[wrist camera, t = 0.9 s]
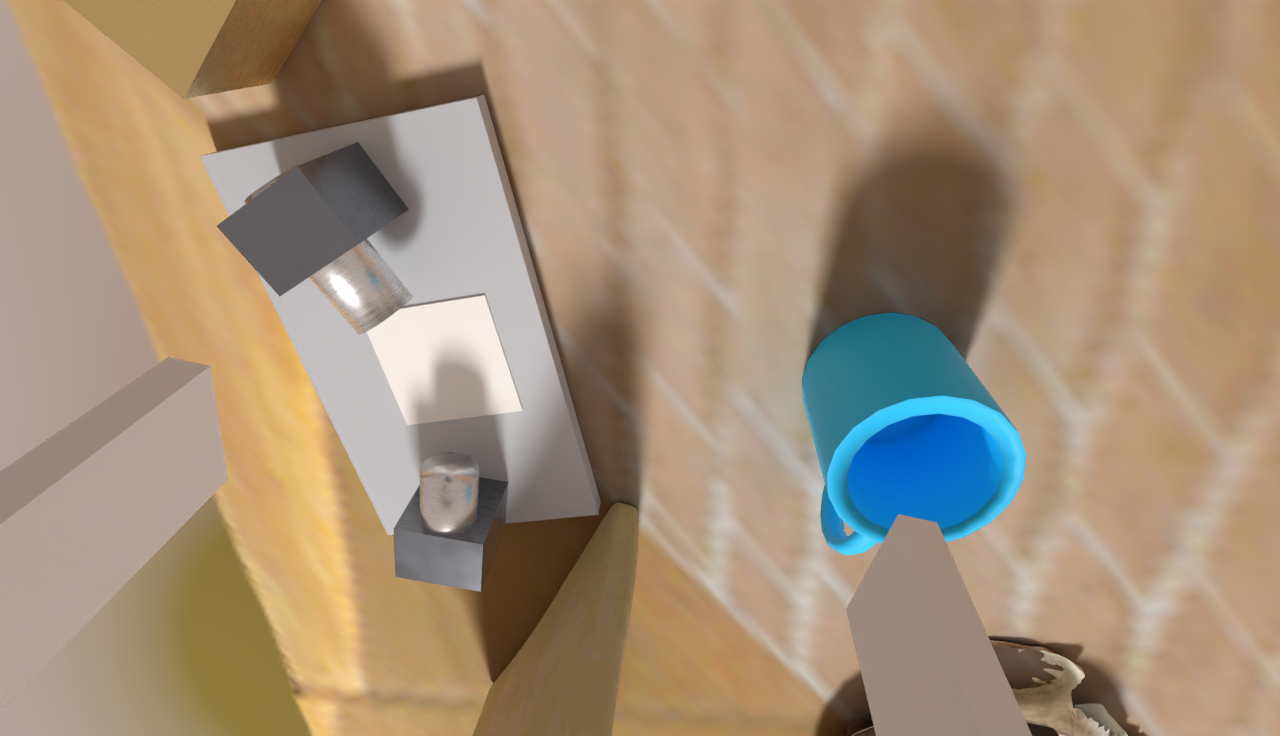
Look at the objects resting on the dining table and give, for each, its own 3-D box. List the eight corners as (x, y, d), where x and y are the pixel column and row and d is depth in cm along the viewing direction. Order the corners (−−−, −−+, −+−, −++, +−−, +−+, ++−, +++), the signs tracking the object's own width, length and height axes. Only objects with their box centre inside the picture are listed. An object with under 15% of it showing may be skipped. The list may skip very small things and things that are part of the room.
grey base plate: (216, 151, 32) (198, 156, 31) (484, 94, 30) (475, 98, 28) (395, 522, 43) (387, 536, 42) (600, 501, 41) (598, 515, 40)
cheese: (553, 476, 40) (481, 703, 27) (701, 521, 41) (702, 762, 28) (486, 686, 51) (411, 921, 38) (604, 718, 52) (572, 960, 39)
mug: (840, 292, 33) (879, 371, 26) (989, 338, 33) (1067, 428, 26) (753, 470, 39) (765, 575, 32) (881, 508, 39) (921, 619, 32)
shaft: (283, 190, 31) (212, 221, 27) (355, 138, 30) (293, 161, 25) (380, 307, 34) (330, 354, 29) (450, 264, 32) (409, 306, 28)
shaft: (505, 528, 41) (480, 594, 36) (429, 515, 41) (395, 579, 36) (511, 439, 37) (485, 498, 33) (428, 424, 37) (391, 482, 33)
